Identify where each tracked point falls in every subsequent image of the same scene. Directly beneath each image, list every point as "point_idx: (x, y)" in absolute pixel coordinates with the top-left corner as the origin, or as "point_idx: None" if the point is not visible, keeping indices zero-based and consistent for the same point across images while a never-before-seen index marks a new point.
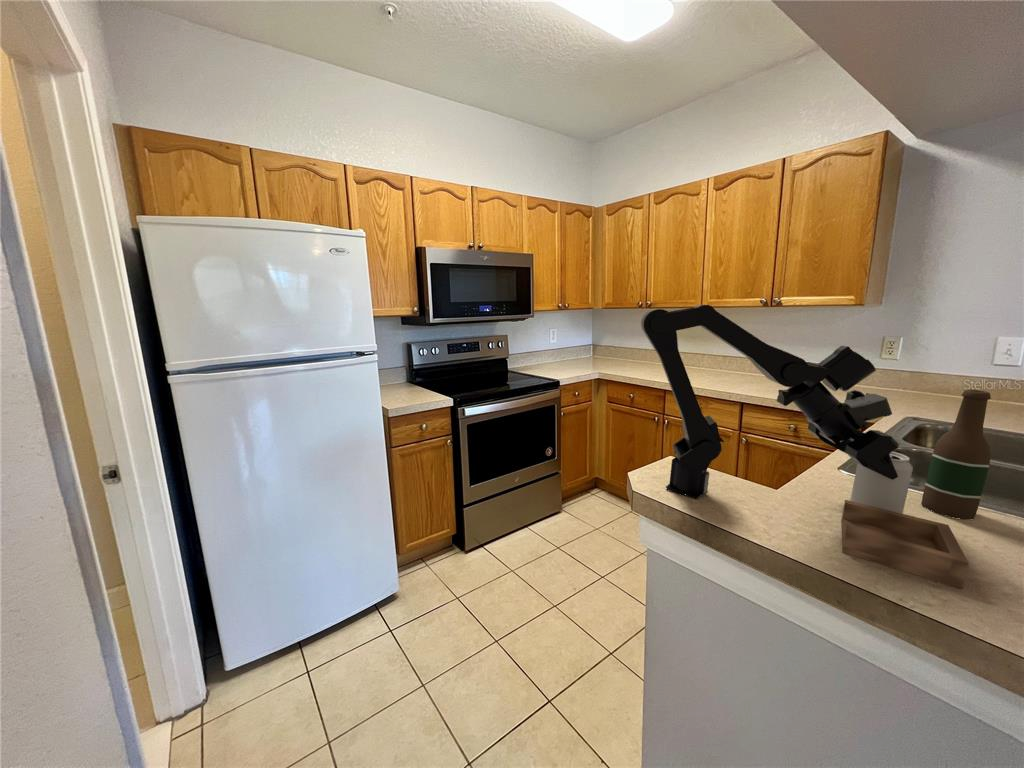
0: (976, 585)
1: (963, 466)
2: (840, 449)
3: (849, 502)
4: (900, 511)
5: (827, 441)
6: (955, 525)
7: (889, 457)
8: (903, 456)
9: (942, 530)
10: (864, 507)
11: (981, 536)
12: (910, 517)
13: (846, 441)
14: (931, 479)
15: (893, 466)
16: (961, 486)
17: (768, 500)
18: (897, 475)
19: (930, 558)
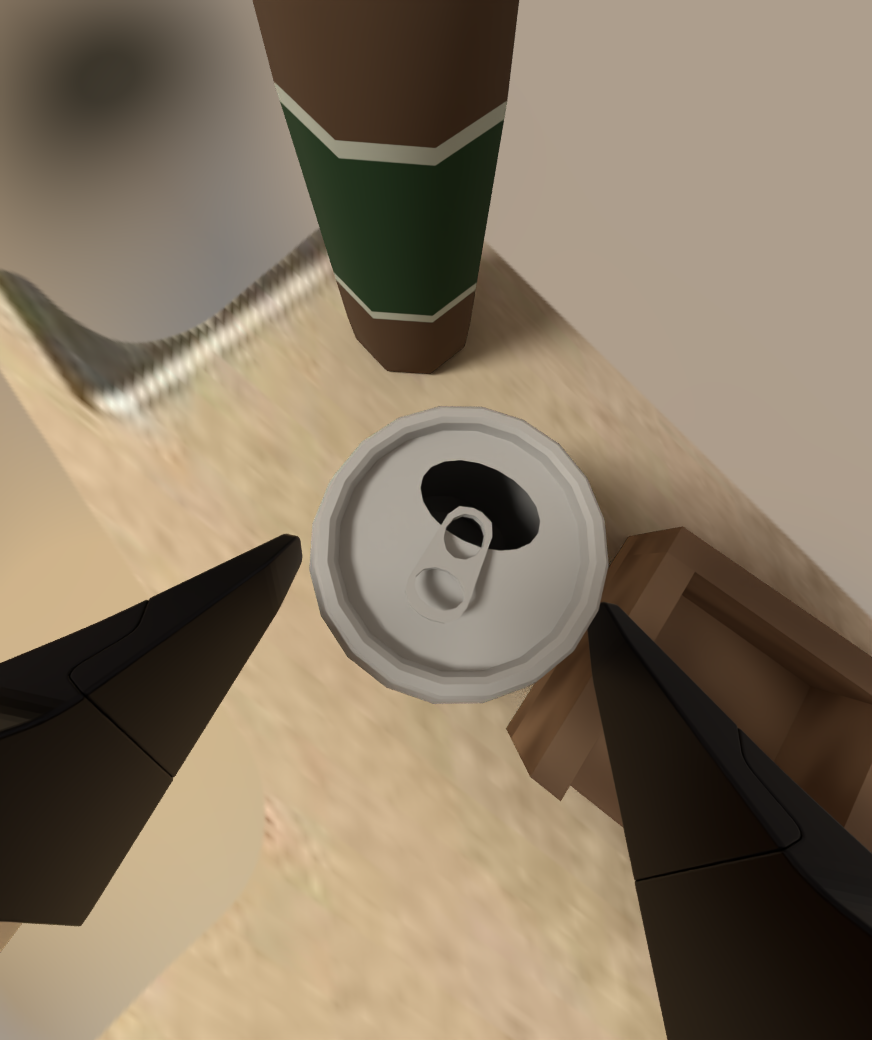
0: None
1: (484, 145)
2: (206, 718)
3: (555, 777)
4: (506, 532)
5: (86, 897)
6: (499, 387)
7: (854, 846)
8: (482, 426)
9: (731, 587)
10: (593, 743)
11: (552, 377)
12: (650, 616)
13: (147, 717)
14: (388, 292)
15: (699, 690)
16: (473, 256)
17: (372, 937)
18: (621, 610)
19: None
